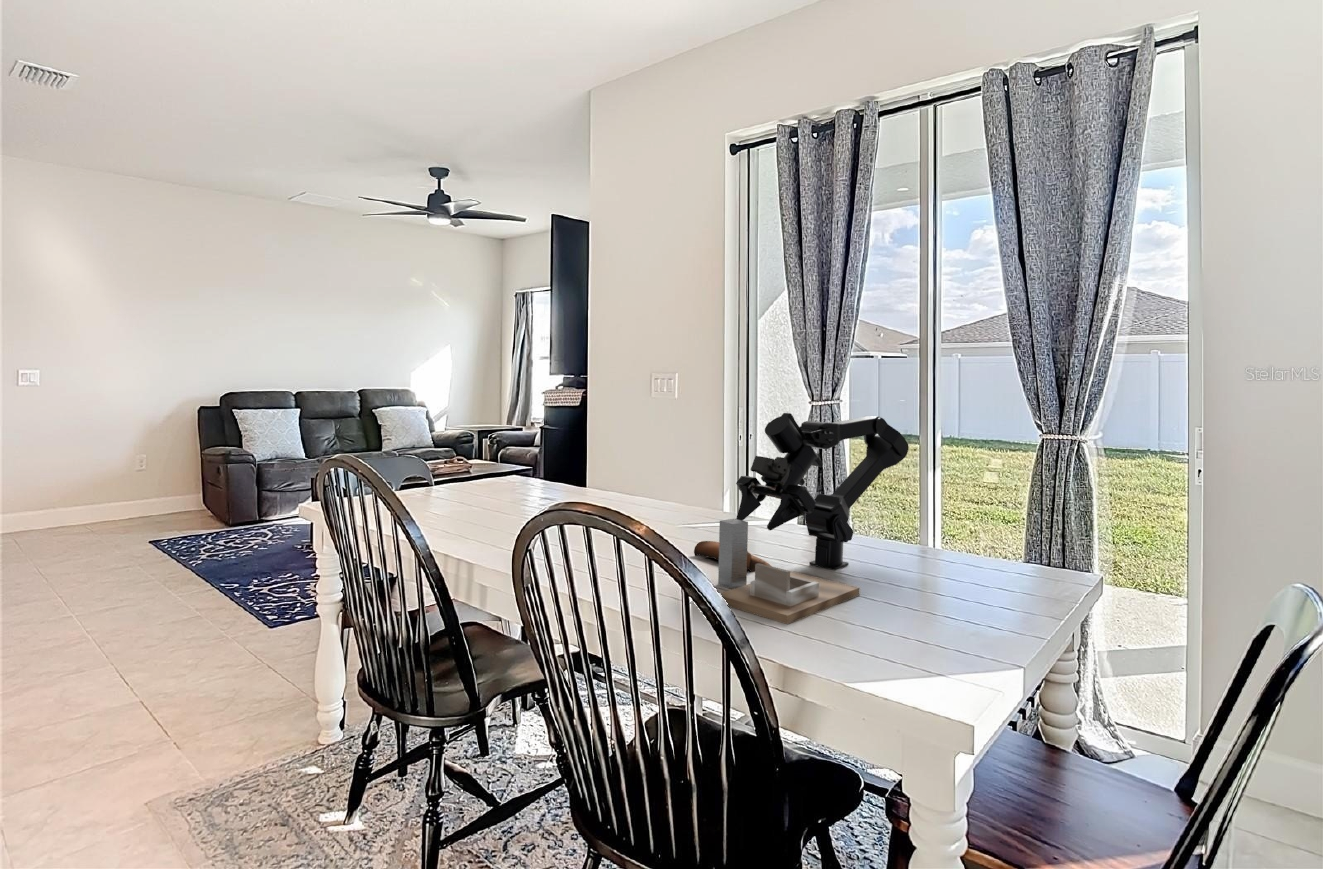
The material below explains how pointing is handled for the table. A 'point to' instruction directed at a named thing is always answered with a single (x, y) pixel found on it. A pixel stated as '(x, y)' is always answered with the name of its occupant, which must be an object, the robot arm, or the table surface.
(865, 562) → the table surface
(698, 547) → the sunglasses case
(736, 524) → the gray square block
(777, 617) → the keeper board
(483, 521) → the table surface
